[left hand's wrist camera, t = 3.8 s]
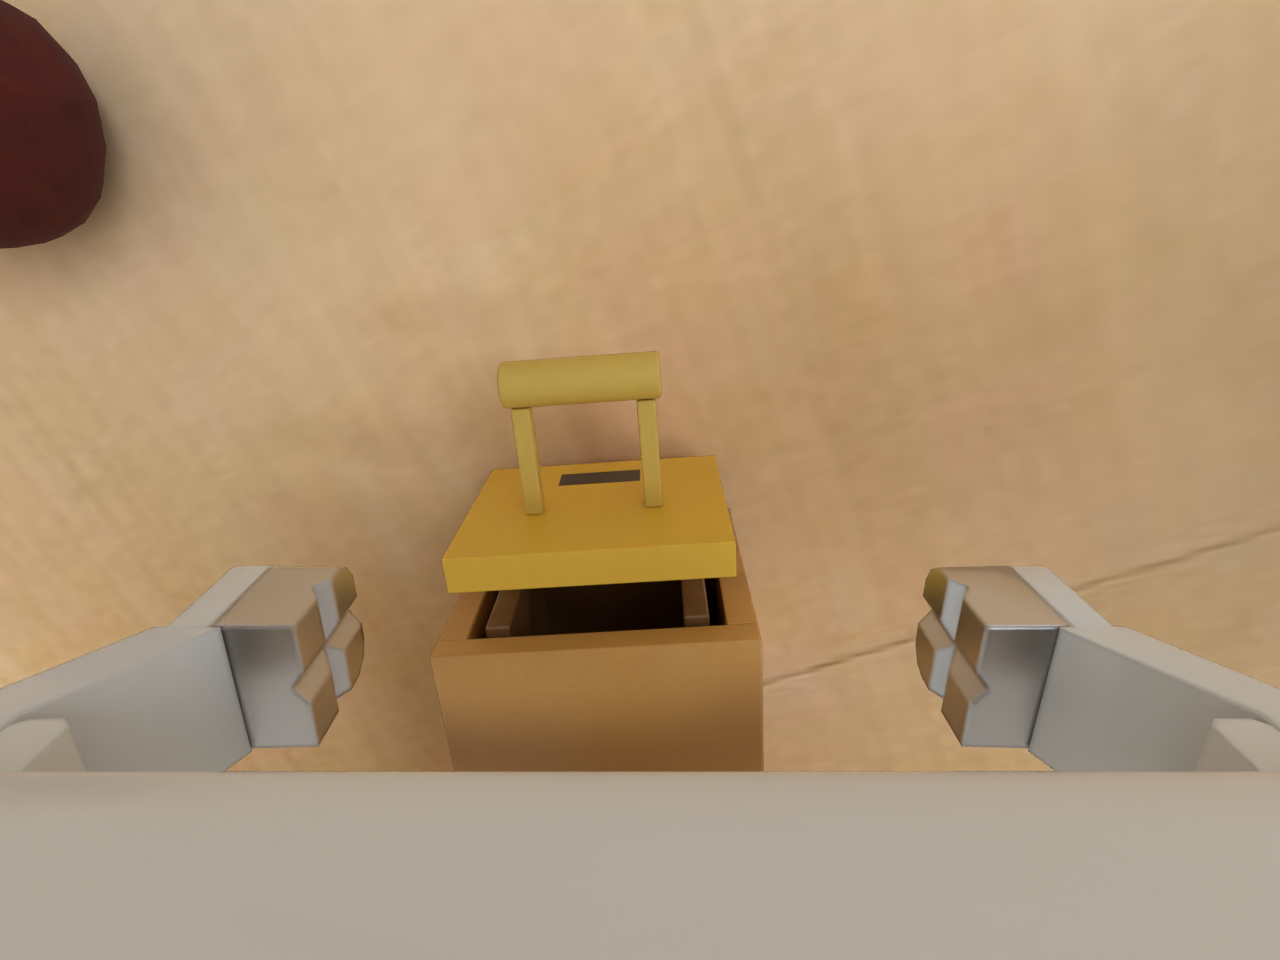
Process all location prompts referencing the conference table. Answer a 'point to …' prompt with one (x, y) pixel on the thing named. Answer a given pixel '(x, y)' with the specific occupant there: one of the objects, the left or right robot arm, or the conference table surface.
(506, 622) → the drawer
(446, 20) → the conference table surface
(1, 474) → the conference table surface
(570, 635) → the cabinet
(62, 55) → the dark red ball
